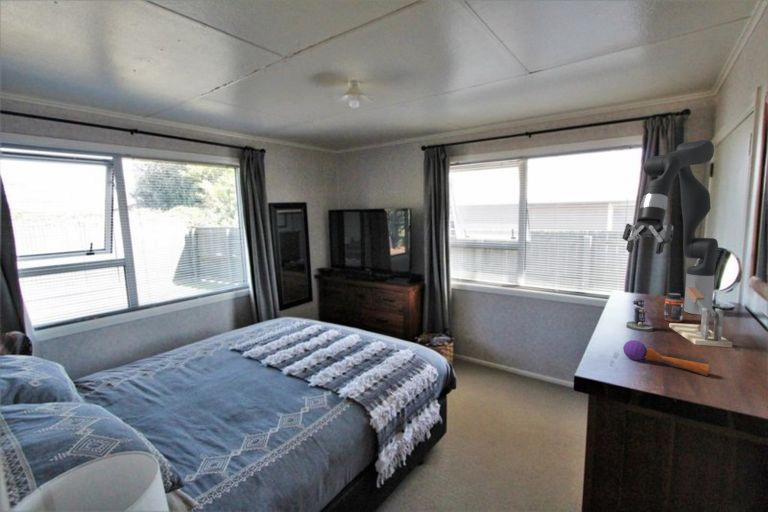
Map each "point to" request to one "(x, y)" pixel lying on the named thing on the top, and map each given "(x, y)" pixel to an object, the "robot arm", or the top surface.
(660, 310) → the top surface
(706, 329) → the base
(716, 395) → the top surface
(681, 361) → the two-tone long tapered part
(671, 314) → the supplement bottle
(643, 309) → the figurine
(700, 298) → the lever
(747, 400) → the top surface
